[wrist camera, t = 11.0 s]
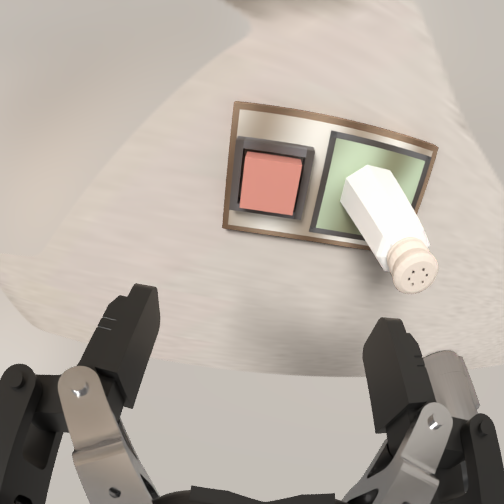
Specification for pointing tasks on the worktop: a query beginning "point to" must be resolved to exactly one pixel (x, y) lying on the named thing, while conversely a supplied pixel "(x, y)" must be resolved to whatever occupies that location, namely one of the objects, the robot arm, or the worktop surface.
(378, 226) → the pepper shaker
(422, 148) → the metal control panel
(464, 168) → the worktop surface
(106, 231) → the worktop surface
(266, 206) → the button
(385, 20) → the worktop surface
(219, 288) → the worktop surface
